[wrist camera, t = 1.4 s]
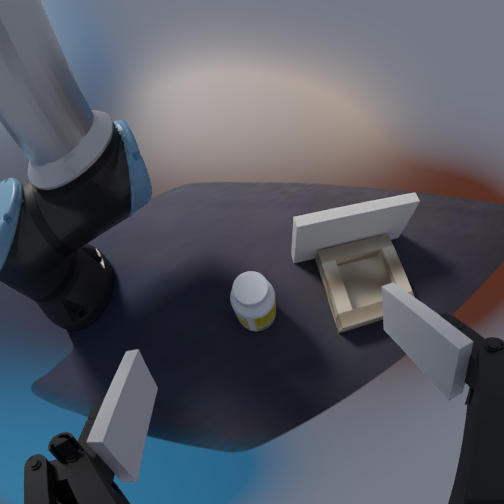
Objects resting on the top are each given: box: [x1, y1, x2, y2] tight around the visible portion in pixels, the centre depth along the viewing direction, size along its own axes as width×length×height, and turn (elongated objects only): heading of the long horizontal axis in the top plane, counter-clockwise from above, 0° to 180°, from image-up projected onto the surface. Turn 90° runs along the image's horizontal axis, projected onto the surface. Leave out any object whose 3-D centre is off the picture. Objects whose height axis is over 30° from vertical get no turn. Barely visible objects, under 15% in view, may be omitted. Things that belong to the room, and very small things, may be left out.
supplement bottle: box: [230, 271, 276, 331], centre depth 38 cm, size 5×5×10 cm
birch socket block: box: [316, 234, 414, 333], centre depth 41 cm, size 12×12×3 cm
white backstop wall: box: [291, 193, 420, 263], centre depth 41 cm, size 2×18×10 cm, turn 102°
